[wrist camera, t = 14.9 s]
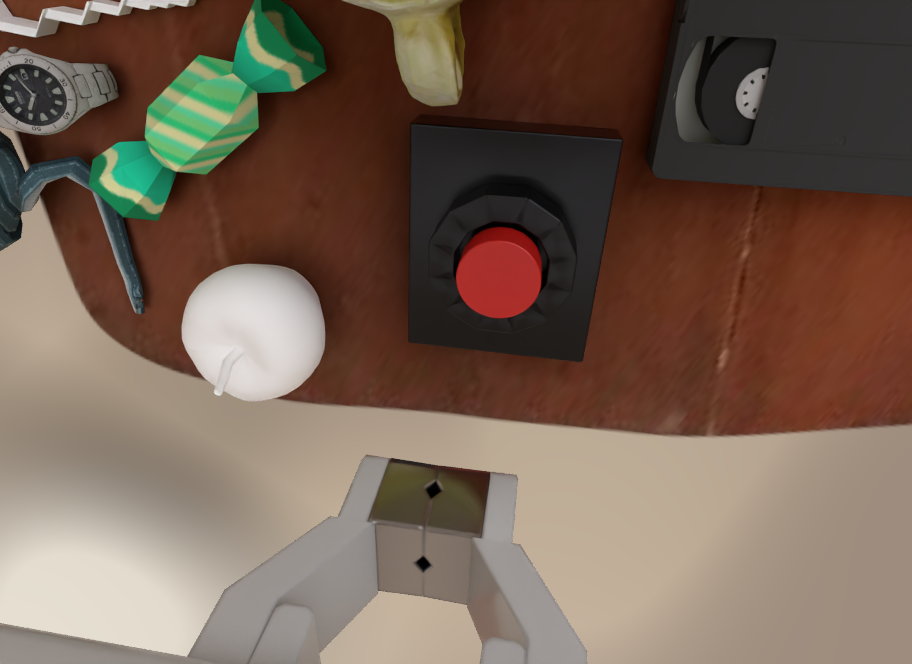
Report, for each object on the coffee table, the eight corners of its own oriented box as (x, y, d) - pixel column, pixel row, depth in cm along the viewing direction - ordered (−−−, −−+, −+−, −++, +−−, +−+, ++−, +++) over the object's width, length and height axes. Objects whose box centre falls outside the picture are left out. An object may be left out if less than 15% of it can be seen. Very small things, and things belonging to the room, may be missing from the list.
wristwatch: (142, 112, 29) (72, 134, 25) (35, 128, 30) (-49, 151, 26) (112, 33, 27) (31, 41, 23) (0, 53, 29) (-97, 64, 24)
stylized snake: (21, 365, 30) (159, 332, 32) (-240, -132, 19) (-7, -130, 22) (36, 304, 36) (153, 279, 38) (-161, -109, 25) (19, -109, 27)
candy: (258, -28, 24) (262, 27, 22) (320, 32, 27) (329, 87, 25) (95, 143, 29) (85, 202, 27) (161, 180, 32) (156, 237, 29)
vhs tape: (644, 166, 27) (650, 178, 25) (683, -38, 23) (694, -41, 21) (982, 190, 26) (1013, 204, 24) (1086, -24, 22) (1132, -26, 20)
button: (463, 222, 26) (457, 236, 24) (546, 230, 25) (546, 245, 24) (459, 296, 28) (453, 314, 26) (536, 305, 27) (536, 323, 26)
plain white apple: (232, 345, 35) (154, 430, 28) (217, 232, 32) (124, 298, 25) (346, 362, 35) (295, 453, 28) (344, 248, 31) (285, 320, 24)
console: (419, 114, 27) (400, 131, 24) (618, 129, 26) (628, 149, 23) (416, 322, 33) (400, 361, 29) (580, 341, 32) (584, 383, 28)
